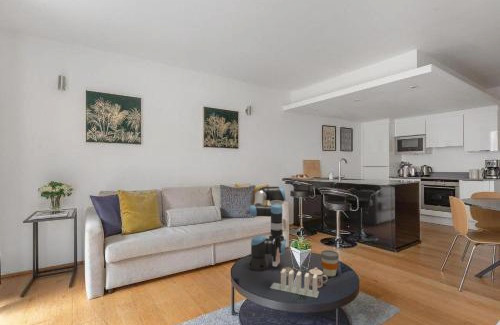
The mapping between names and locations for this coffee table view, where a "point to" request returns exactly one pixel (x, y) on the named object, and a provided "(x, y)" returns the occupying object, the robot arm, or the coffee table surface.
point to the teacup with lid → (319, 277)
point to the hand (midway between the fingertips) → (276, 264)
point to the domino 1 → (277, 256)
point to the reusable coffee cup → (329, 262)
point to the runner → (278, 287)
